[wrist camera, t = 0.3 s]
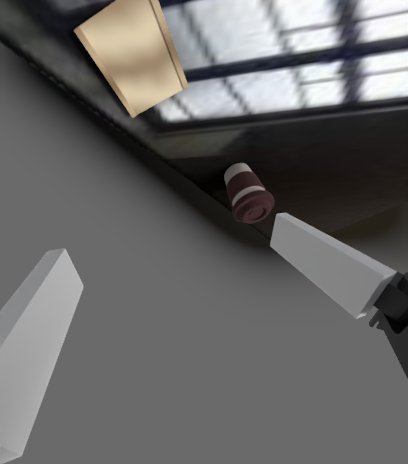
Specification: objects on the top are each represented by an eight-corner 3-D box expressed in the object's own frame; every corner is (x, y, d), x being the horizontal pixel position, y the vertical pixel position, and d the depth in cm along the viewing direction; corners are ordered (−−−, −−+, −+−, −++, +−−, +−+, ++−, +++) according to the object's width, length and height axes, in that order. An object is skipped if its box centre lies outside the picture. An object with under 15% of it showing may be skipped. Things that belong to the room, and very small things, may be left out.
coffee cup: (258, 172, 50) (282, 212, 42) (229, 192, 54) (246, 231, 46) (244, 149, 43) (270, 192, 35) (212, 174, 47) (228, 217, 39)
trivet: (75, 28, 22) (73, 30, 22) (149, -24, 20) (150, -23, 20) (132, 114, 32) (132, 117, 31) (187, 84, 30) (188, 87, 29)
